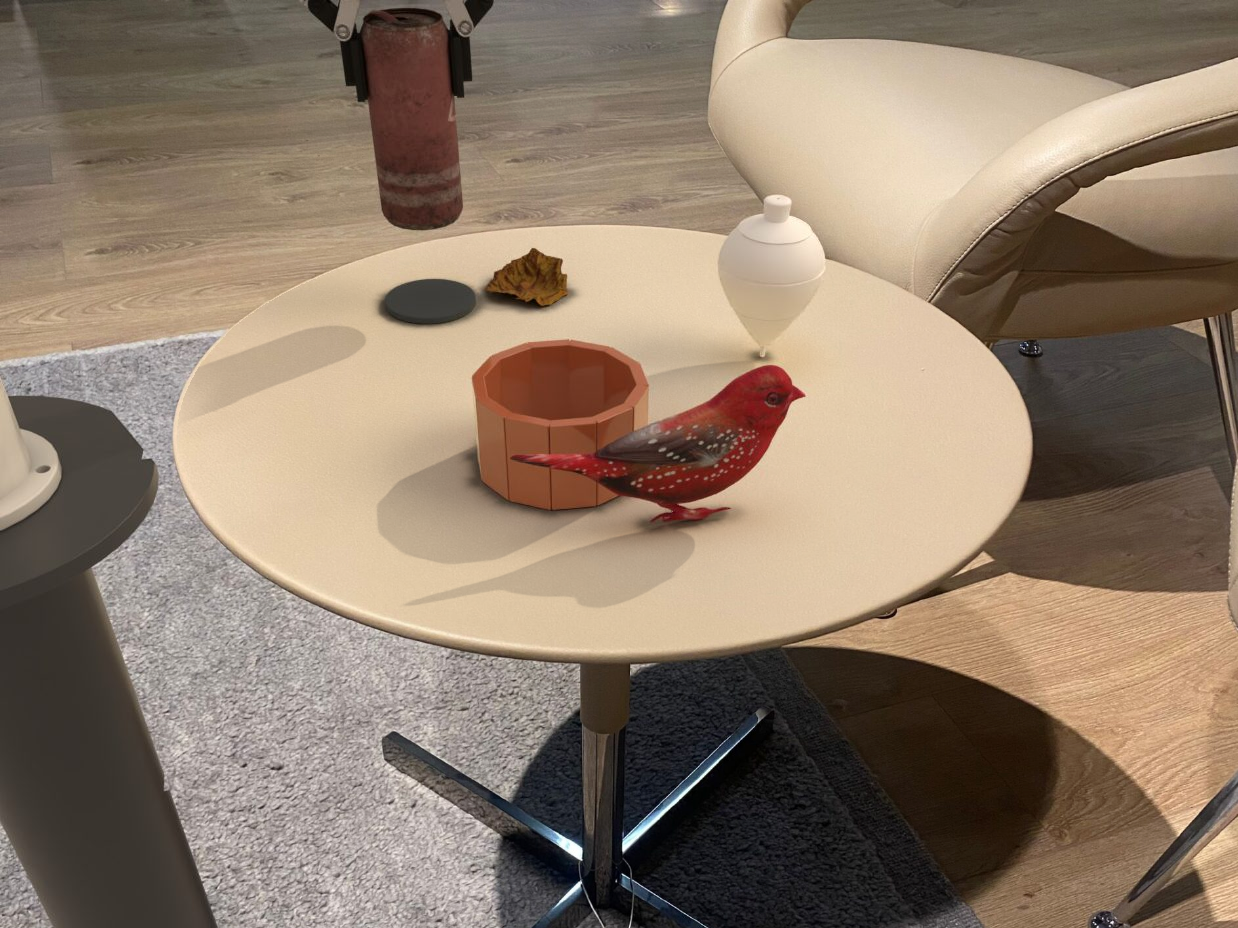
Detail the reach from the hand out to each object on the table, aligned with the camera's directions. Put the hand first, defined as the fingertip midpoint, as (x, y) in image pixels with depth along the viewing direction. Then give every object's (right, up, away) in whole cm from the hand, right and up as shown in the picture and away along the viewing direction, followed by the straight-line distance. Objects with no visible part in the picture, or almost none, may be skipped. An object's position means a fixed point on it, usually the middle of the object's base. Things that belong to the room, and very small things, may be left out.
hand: (410, 91), depth 85 cm
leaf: (+7, -11, +13) cm, 18 cm away
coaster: (0, -12, +11) cm, 16 cm away
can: (0, -7, +6) cm, 9 cm away
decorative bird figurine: (+17, -32, -12) cm, 38 cm away
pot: (+11, -27, -7) cm, 30 cm away
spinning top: (+26, -18, +5) cm, 32 cm away
